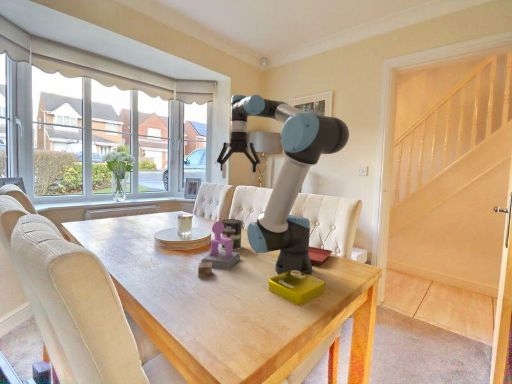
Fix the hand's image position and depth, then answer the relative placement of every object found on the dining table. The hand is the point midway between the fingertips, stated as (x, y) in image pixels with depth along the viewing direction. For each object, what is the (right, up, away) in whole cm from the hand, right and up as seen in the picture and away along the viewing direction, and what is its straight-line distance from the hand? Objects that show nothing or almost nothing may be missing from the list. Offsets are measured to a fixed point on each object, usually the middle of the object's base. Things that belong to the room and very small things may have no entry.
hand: (237, 179), depth 123 cm
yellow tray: (+22, -41, -28) cm, 55 cm away
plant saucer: (+33, -38, +5) cm, 51 cm away
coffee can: (-5, -35, +17) cm, 39 cm away
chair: (-7, -34, -4) cm, 35 cm away
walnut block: (-12, -39, -17) cm, 44 cm away
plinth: (-7, -37, -4) cm, 38 cm away
